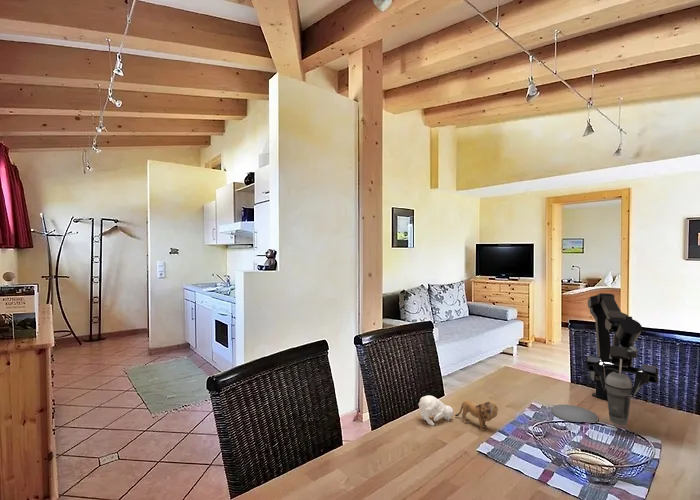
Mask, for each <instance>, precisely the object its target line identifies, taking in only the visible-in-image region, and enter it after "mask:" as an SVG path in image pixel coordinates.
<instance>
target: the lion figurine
mask: <svg viewBox="0 0 700 500" xmlns="http://www.w3.org/2000/svg"><path fill="white" fill-rule="evenodd" d="M498 411H499V407H498V405H497V403H495V402H494V401H492V400H491V401H486V402H484V403H479V404H478V405H476V404H474V403H473V402H471V401H469V400H463V402H462V403H461V406H460V410H459V412H458V413H456V414H454V416H455V417H459V416H460V415H461V417H462V419H463V423H464V424H468V421H467V419H466V418H467V413H470V415H471V416H472V417H474V418H477V419H478V421H479V430H480V431H482V432H484V431H485V428H488V425H486V422H490V421H491V420H492V419H494V418H496V417H497V416H498Z"/></svg>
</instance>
